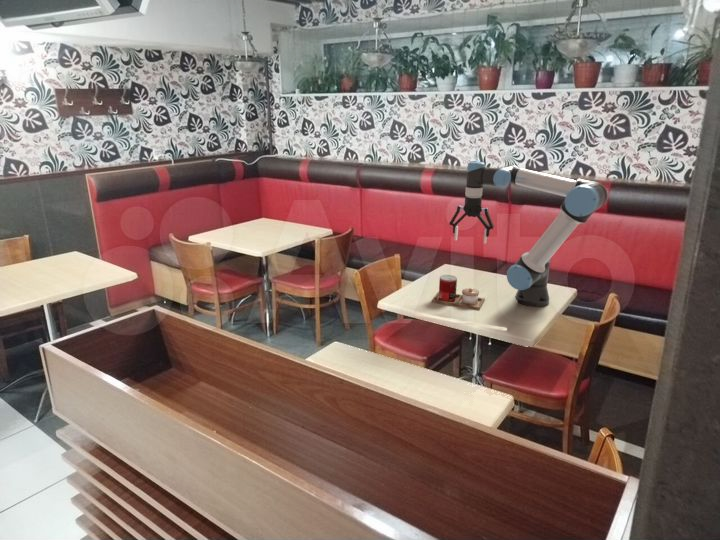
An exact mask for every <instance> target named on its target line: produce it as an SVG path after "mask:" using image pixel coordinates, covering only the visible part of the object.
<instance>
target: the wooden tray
mask: <svg viewBox="0 0 720 540" xmlns="http://www.w3.org/2000/svg"><path fill="white" fill-rule="evenodd" d="M485 301H486V298H485V297H479V296H478V303H477V305H476V306H474V305H467V304H462V294H460V293H459V294H457V293H456V299H455V301H454V302H448V301H441V300H439V291H437V293H436V294H435V295H434V296H433V298H432V299H431V303H432V304H433V303H434V304H440V305H446V306H452V307H459V308H464V309H471V310H476V311H477V310H479V311H480V310H481V309H482V306H483V304H484V303H485Z"/></svg>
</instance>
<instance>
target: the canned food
mask: <svg viewBox="0 0 720 540" xmlns="http://www.w3.org/2000/svg"><path fill="white" fill-rule="evenodd" d="M457 283H458V277H456V276H455V275H452V274H442V275H440V276H439V284H438V285H439V286H438V292H439V300H441V301H448V302H454V301H455V299H456V294H457V287H458V285H457Z"/></svg>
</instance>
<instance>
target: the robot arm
mask: <svg viewBox="0 0 720 540" xmlns="http://www.w3.org/2000/svg"><path fill="white" fill-rule="evenodd" d="M485 165H486V164H485V162H483V161H469V162H468V163H467V166H466V167H467V169H466V183H465V191H464V193H465V197H464V206H462V205H458V206H457V207H456V211H455V212H454V215H453V217H452V218H451V220H450V221H449V225H450V226H452V233H453V234H454V239H453V240H454V241H455V242H457V240H458V235H459V223H460V222H462V220H463V219H465V218H466V217H469V218H470V217H472V218H476V217H477V218H478V220H479V221H480V223H481V224H482V225H483V227H484V232H483V233H484V235H483V244H484V245H485V244H486V243H487V237H489V236H490V231H491V230H493V229H494V228H495V225H494V222H493V221H492V218H491V215H490V213H489V207H484V208H483V207H482V201H483V198H482V196H483V187H484V185H486V186H492V187H498V188H500V187H502V188H505V187H506V188H507V187H508V186H509V184H511V185H515V186H516V185H517V186H520V187H523V188H529V189H532V190H533V189H534V190H536V191H540V192H545V193H549V194H553V195H556V196H561V197H565V199H564V201H563V202H562V203H561V205H560V212H559V213H558V215H557V216H556V217H555V219H554V220H553V221H552V223H550V225H549V227H547V229H546V230H545V231H544V232H543V234H542V235H541V237H540V238H539V239H538V240H537V242H536V243H535V244H534V245H533V246H532V248H531V249H530V251H526V252H524V253H523V254H522V255H521V256H520V257H519V258H518V260H517V261H516V262H515V263H514V264H512V265H511V266H510V267H509V268H508V269H507V272H506V280H507V283H508V284H509V285H510V286H511V288H513V289H514V290H516V292H515V293H516V294H515V299H516V300H517V303H519V304H522V305H525V306H527V307H528V306H529V307H544V306H548V304H550V295H549V290H548V282H549V281H548V280H549V273H550V265H551V258H552V257H553V256H554V255H555V254H556V253H557V251H558V250H559V249H560V247H561V246H562V245H563V244H564V243H565V241H566V240H567V239H568V238H569V237H570V235H571V234H572V233H573V232H574V231H575V229H576V228H577V227H578V226H579V225H580V224H585V223H586V222H587V221H588V220H589V219H590V218H591V216H592V215H593V214H594V213H595V212H596V211H597V210H600V209H601V208H602V207H603V206H604V205H605V204H606V203H607V200H608V196H609V195H608V190H607V188H606V186H604V185H603V184H602V183H601V182H598V181H593V180H587V179H584V178H583V179H582V178H578V179H575V180H574V179H571V178H566V177H561V176H559V175H558V176H557V175H552V174H549V173H545V172H544V173H543V172H538V171H535V170H532V169H531V170H530V169H526V168H521V167H519V166H517V165H515V164H507V165H505V166H501V167H496V168H495V167H486V166H485ZM462 210H463V212H464V213H463V214H462V215H461V216H460V217H459V219H457V217H458V215H459V214H460V212H461V211H462ZM481 212H483V214H484V216H485V218H486V220H487V221H486V220H485V218H484V217H483V216H482V213H481ZM456 219H457V221H456ZM455 221H456V222H455Z"/></svg>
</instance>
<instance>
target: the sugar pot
mask: <svg viewBox="0 0 720 540" xmlns="http://www.w3.org/2000/svg"><path fill="white" fill-rule="evenodd" d="M479 294H480V291H479V290H478V289H475V288H472V287H471V288H470V287H468V288H463V289H462V290H461V295H462V304H467V305H474V306H476V305H477V303H478V297H479Z"/></svg>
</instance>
